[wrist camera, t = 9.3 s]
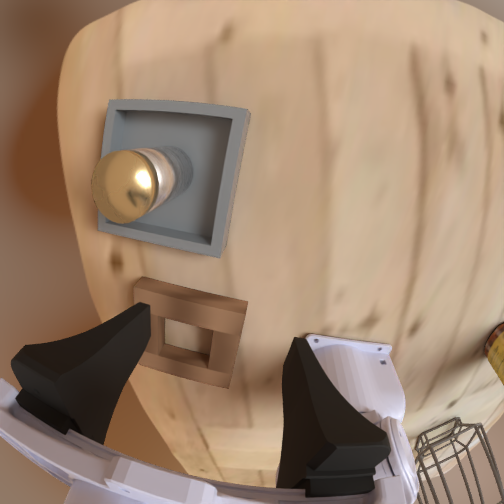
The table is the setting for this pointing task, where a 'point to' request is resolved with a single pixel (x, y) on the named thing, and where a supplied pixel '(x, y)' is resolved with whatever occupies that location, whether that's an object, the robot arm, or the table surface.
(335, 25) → the table surface
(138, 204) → the gold and silver cylinder
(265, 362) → the table surface
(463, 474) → the geometric lantern
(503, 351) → the sauce bottle
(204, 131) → the tray
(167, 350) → the block
